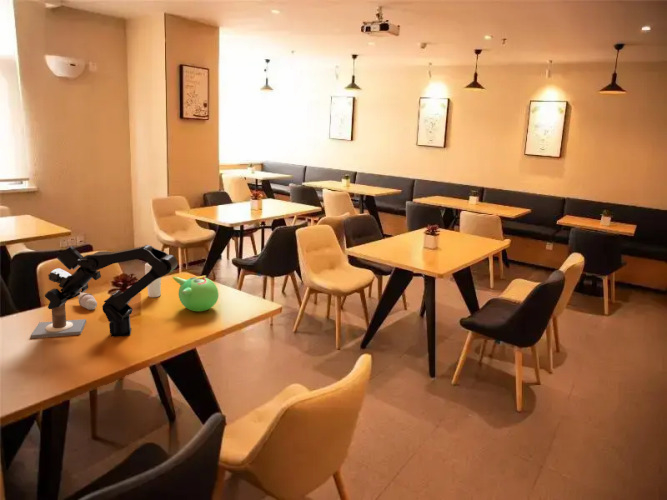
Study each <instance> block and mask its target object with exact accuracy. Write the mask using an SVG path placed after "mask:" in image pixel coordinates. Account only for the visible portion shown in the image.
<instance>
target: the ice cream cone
mask: <svg viewBox="0 0 667 500" xmlns="http://www.w3.org/2000/svg"><path fill="white" fill-rule="evenodd" d="M77 299H78V304H79V306H80V307H82V308H85V309H86V310H89V311H92V310H94V309H96V308H97V306H98V301H97V300H96V298H95V297H94V295H93V294H92V293H88V292H83V293H81V292H80V295H78V296H77Z"/></svg>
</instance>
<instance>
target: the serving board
mask: <svg viewBox="0 0 667 500" xmlns="http://www.w3.org/2000/svg"><path fill="white" fill-rule="evenodd" d="M86 324H87V319H86V318H84V319H83V318H82V319H81V318H80V319H69V320H67V319H66V326H65V327H62V328H54V327H53V323H52V321H43V322H40V321H39V322H38V324H37V325H36V327H35V328H34V329H33V331H32V332H31V334H30V339H39V338H40V339H41V338H52V337H64V336H65V337H67V336H77V335H81V334H82V333H83V330H84V328H85V325H86Z"/></svg>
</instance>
